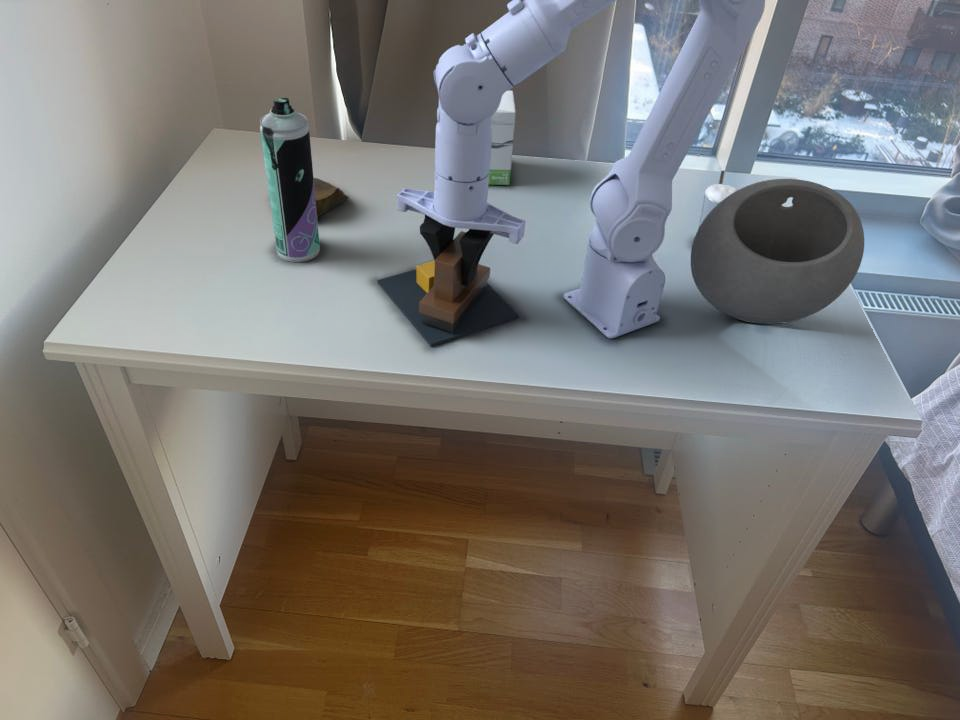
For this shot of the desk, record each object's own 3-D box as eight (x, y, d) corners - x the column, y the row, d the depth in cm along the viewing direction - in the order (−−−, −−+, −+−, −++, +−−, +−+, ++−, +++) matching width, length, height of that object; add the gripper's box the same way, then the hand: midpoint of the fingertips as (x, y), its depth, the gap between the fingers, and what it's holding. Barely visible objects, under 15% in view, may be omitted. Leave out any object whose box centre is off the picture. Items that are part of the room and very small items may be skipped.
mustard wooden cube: (449, 288, 92) (450, 271, 90) (428, 295, 90) (429, 278, 89) (436, 275, 93) (437, 259, 92) (416, 282, 92) (416, 265, 90)
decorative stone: (262, 197, 106) (259, 175, 104) (319, 179, 111) (316, 157, 109) (301, 228, 101) (298, 205, 98) (358, 208, 106) (357, 185, 103)
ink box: (510, 186, 113) (517, 111, 106) (477, 185, 113) (482, 109, 105) (507, 161, 120) (513, 88, 112) (476, 159, 120) (481, 87, 112)
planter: (673, 324, 90) (715, 182, 77) (674, 291, 95) (713, 154, 83) (831, 351, 87) (900, 210, 75) (823, 316, 93) (886, 179, 80)
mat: (519, 317, 89) (519, 314, 88) (430, 347, 83) (430, 344, 83) (460, 259, 97) (460, 256, 97) (377, 282, 92) (377, 280, 92)
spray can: (310, 265, 94) (295, 112, 81) (270, 258, 95) (247, 105, 82) (326, 243, 98) (313, 94, 85) (286, 236, 99) (268, 87, 86)
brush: (456, 277, 93) (459, 221, 88) (488, 287, 92) (493, 231, 86) (418, 323, 86) (419, 265, 80) (453, 334, 84) (456, 276, 79)
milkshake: (719, 236, 106) (740, 172, 99) (725, 256, 102) (747, 191, 95) (687, 233, 106) (706, 168, 100) (692, 253, 102) (711, 187, 95)
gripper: (540, 171, 78) (527, 277, 87) (417, 139, 82) (416, 244, 91) (516, 199, 73) (504, 309, 82) (386, 165, 77) (388, 273, 86)
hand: (456, 277), depth 86 cm, fingers closed on brush, 2 cm apart
